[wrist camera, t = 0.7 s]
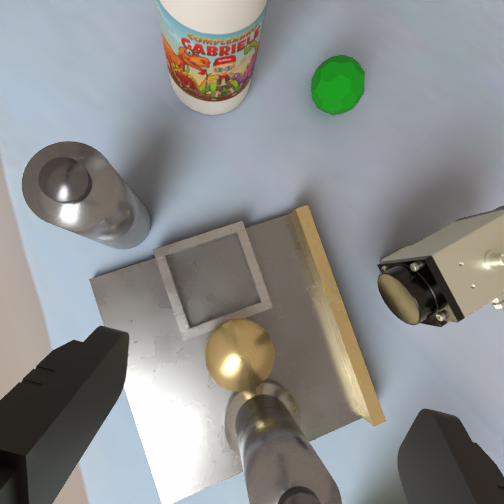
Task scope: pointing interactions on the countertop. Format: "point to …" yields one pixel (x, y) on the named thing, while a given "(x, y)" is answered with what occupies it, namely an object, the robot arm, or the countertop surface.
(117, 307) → the carrier plate
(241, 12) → the milk bottle
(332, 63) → the polyhedron
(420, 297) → the pneumatic valve
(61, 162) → the cylinder
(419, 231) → the countertop surface
